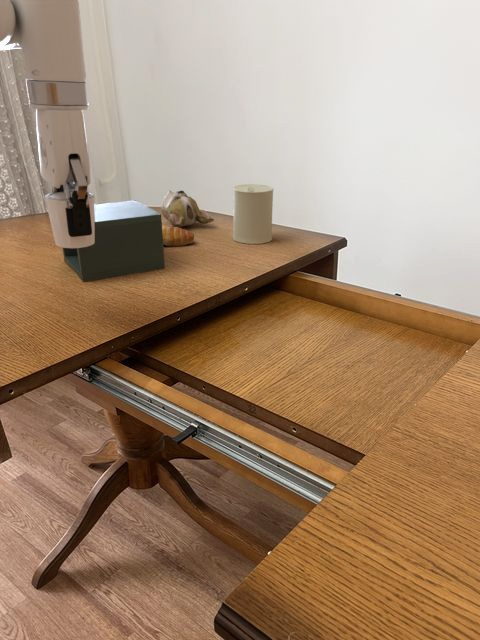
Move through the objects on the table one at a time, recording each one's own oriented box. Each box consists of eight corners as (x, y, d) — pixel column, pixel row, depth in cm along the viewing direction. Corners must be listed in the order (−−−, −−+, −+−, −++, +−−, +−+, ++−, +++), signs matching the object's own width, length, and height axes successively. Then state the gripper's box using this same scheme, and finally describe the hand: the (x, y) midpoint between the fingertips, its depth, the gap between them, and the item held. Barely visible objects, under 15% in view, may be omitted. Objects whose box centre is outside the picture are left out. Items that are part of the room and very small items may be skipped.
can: (228, 242, 123) (228, 188, 118) (237, 232, 132) (237, 181, 126) (268, 245, 122) (270, 190, 117) (275, 234, 130) (276, 183, 125)
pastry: (196, 239, 126) (195, 222, 124) (192, 247, 120) (191, 230, 118) (155, 238, 126) (154, 222, 124) (150, 247, 120) (148, 230, 118)
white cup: (107, 239, 83) (103, 193, 80) (82, 251, 78) (77, 201, 74) (68, 234, 85) (62, 188, 82) (40, 246, 79) (33, 197, 76)
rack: (83, 281, 99) (75, 224, 95) (64, 260, 110) (56, 208, 105) (164, 268, 107) (161, 214, 102) (139, 249, 118) (135, 200, 113)
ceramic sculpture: (187, 182, 141) (216, 196, 130) (188, 215, 145) (216, 231, 135) (149, 186, 135) (176, 201, 125) (151, 220, 140) (177, 237, 129)
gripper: (16, 92, 77) (34, 218, 85) (43, 99, 64) (61, 247, 72) (70, 94, 81) (83, 214, 89) (106, 101, 68) (117, 241, 76)
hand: (73, 228), depth 80 cm, fingers closed on white cup, 6 cm apart
